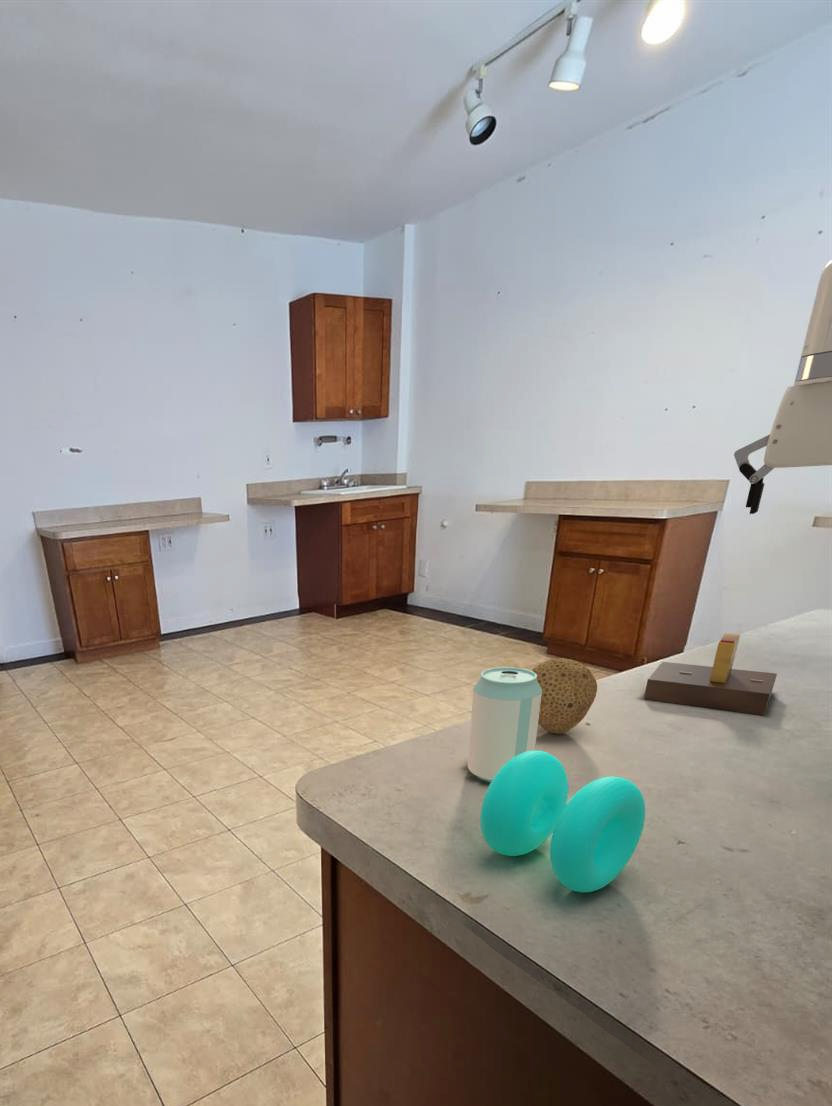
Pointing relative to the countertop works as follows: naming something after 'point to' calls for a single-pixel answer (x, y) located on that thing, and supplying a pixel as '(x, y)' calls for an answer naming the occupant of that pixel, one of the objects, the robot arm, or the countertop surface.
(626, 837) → the donuts
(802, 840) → the countertop surface
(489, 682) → the can
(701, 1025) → the countertop surface
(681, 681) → the plate
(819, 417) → the robot arm
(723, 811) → the countertop surface
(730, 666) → the thumbturn
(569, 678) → the natural sponge
